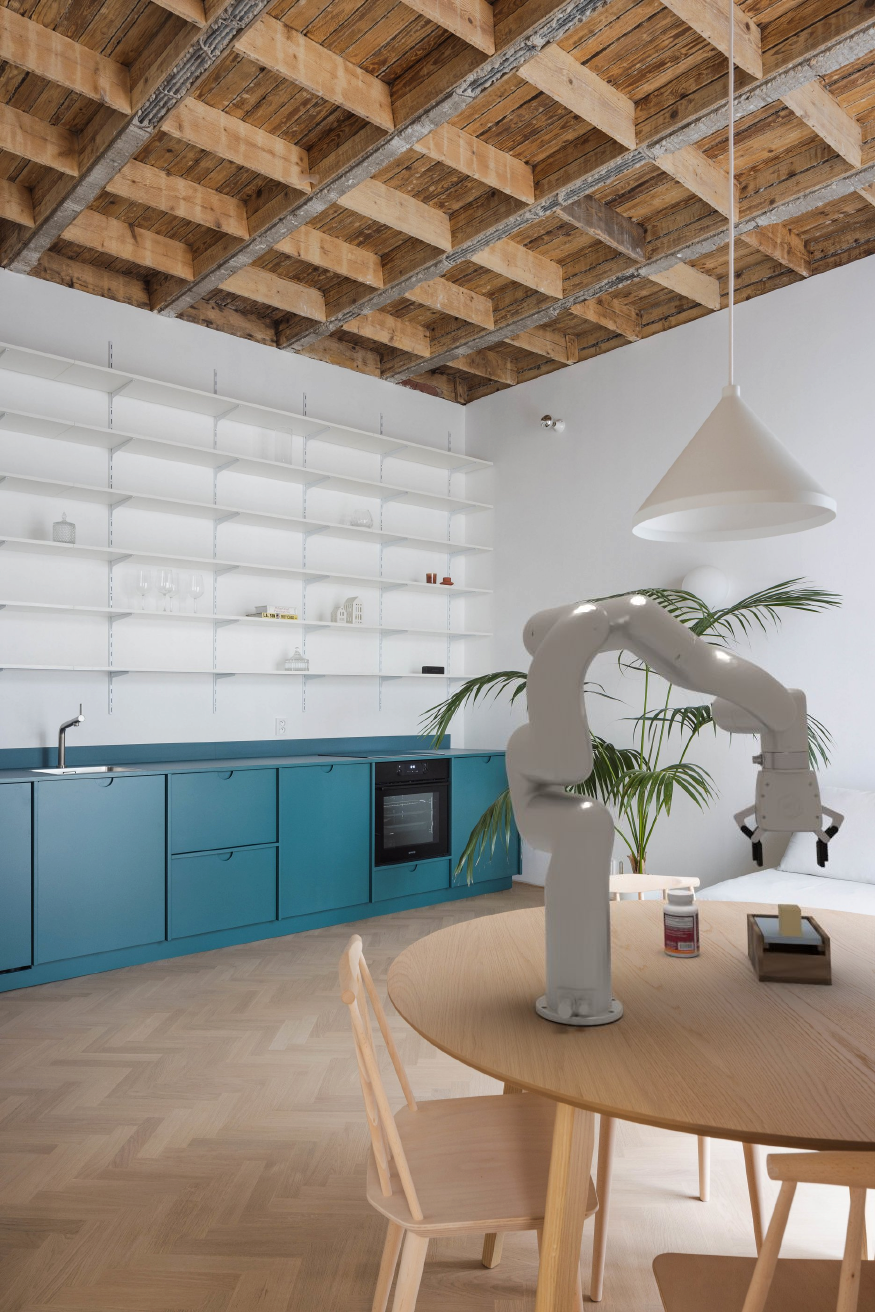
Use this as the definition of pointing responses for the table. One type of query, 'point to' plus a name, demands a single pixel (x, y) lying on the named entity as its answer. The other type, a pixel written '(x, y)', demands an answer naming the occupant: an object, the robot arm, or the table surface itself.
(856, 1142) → the table surface
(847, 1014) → the table surface
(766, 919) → the cover plate
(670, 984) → the table surface
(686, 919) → the pill bottle
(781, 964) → the walnut box
